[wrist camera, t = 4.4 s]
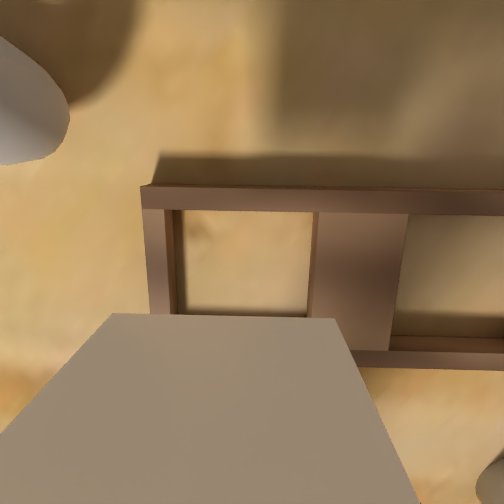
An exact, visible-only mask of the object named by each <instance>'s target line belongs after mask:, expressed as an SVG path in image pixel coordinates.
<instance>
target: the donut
mask: <svg viewBox="0 0 504 504" xmlns="http://www.w3.org/2000/svg"><path fill="white" fill-rule="evenodd" d="M69 122H70V115H69V106H68V103H67V101H66V98H65V96H64V94H63V92H62V90H61V89H60V88H59V87H58V85H57V84H56V83H55V81H54V80H53V79H52V78H51V76H50V75H49V74H48V73H47V71H46V70H44V69H43V68H42V67H41V66H40V65H38V64H37V63H36V62H35V61H34V60H33V59H31V58H30V57H29V56H27V55H26V54H25V53H23V52H22V51H21V50H19V49H18V48H17V47H15V46H14V45H12V44H11V43H10V42H8V41H7V40H6V39H4V38H3V37H1V36H0V165H12V164H17V163H23V162H28V161H33V160H38V159H43V158H45V157H46V156H48V155H50V154H51V153H53V152H55V151H56V149H57V148H58V147H59V145H60V144H61V143H62V142H63V140H64V137H65V135H66V132H67V129H68V125H69Z"/></svg>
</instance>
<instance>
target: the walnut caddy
mask: <svg viewBox="0 0 504 504" xmlns="http://www.w3.org/2000/svg"><path fill="white" fill-rule="evenodd" d="M140 192H141V204H142V217H143V229H144V242H145V254H146V267H147V279H148V292H149V304H150V314H172V315H178V302H177V284H176V265H175V246H174V227H173V210H218V211H270V212H314V213H313V227H312V241H311V256H310V270H309V285H308V299H307V313H306V318H335V320H336V322H337V325H338V327H339V329H340V331H341V333H342V335H343V338H344V340H345V342H346V344H347V346H348V348H349V351H350V353H351V355H352V357H353V359H354V361H355V363H356V366H357V367H375V368H414V369H453V370H491V371H504V338H469V337H428V336H390V335H391V328H392V322H393V315H394V309H395V302H396V296H397V289H398V283H399V276H400V270H401V263H402V256H403V250H404V243H405V237H406V230H407V224H408V217H409V214H428V215H481V216H504V190H475V189H418V188H362V187H306V186H250V185H194V184H148V185H144V186H141V187H140Z"/></svg>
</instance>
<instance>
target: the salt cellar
mask: <svg viewBox="0 0 504 504" xmlns="http://www.w3.org/2000/svg"><path fill="white" fill-rule="evenodd" d="M476 495H477V497H478V499H479V501H480V502H481V504H504V458H503V459H500V460H498V461H496V462H494V463H493V464H491V465H490V466H488V467H487V468H486V469H485V470H484V471H483V472H482V473H481V475H480V476H479V478H478V480H477V483H476Z"/></svg>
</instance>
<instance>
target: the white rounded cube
mask: <svg viewBox="0 0 504 504" xmlns="http://www.w3.org/2000/svg"><path fill="white" fill-rule="evenodd" d="M0 504H420V502H419V499H418V497H417V495H416V493H415V491H414V489H413V486H412V484H411V482H410V480H409V478H408V476H407V474H406V471H405V469H404V467H403V465H402V463H401V461H400V458H399V456H398V454H397V452H396V450H395V448H394V445H393V443H392V441H391V439H390V437H389V435H388V433H387V430H386V428H385V426H384V424H383V422H382V420H381V417H380V415H379V413H378V411H377V409H376V407H375V404H374V402H373V400H372V398H371V396H370V394H369V392H368V389H367V387H366V385H365V383H364V381H363V379H362V376H361V374H360V372H359V370H358V368H357V366H356V363H355V361H354V359H353V357H352V355H351V353H350V351H349V348H348V346H347V344H346V342H345V340H344V338H343V335H342V333H341V331H340V329H339V327H338V325H337V322H336V320H335V318H299V317H257V316H214V315H172V314H129V313H112V314H111V315H110V316H109V318H108V319H107V320H106V321H105V322H104V323H103V324H102V325H101V326H100V327H99V328H98V329H97V330H96V332H95V333H94V334H93V335H92V336H91V337H90V338H89V339H88V340H87V341H86V342H85V343H84V344H83V346H82V347H81V348H80V349H79V350H78V351H77V352H76V353H75V354H74V355H73V356H72V357H71V359H70V360H69V361H68V362H67V363H66V364H65V365H64V366H63V367H62V368H61V369H60V370H59V371H58V373H57V374H56V375H55V376H54V377H53V378H52V379H51V380H50V381H49V382H48V383H47V384H46V385H45V387H44V388H43V389H42V390H41V391H40V392H39V393H38V394H37V395H36V396H35V397H34V398H33V400H32V401H31V402H30V403H29V404H28V405H27V406H26V407H25V408H24V409H23V410H22V411H21V412H20V414H19V415H18V416H17V417H16V418H15V419H14V420H13V421H12V422H11V423H10V424H9V425H8V426H7V428H6V429H5V430H4V431H3V432H2V433H1V434H0Z"/></svg>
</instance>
